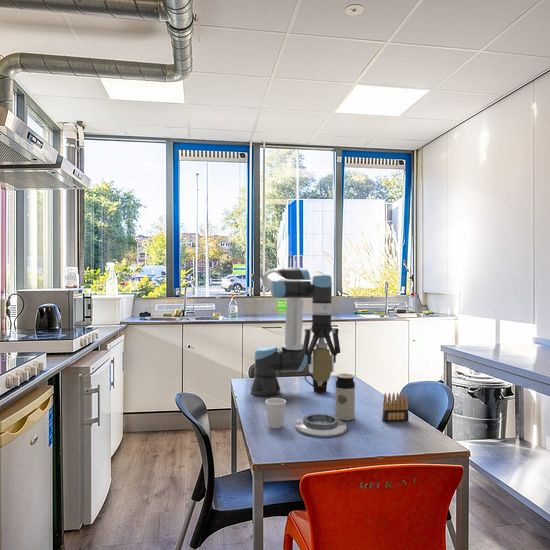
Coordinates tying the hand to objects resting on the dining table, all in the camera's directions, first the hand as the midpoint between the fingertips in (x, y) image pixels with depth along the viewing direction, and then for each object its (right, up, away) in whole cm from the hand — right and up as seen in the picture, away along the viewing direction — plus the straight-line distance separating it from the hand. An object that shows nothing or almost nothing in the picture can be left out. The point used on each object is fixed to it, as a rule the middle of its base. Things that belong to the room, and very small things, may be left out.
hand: (321, 371), depth 172 cm
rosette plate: (0, -22, 0) cm, 22 cm away
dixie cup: (-18, -22, +2) cm, 29 cm away
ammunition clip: (+32, -23, +9) cm, 40 cm away
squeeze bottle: (0, -3, 0) cm, 3 cm away
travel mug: (+11, -23, +13) cm, 28 cm away
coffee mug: (+4, -23, +57) cm, 61 cm away
